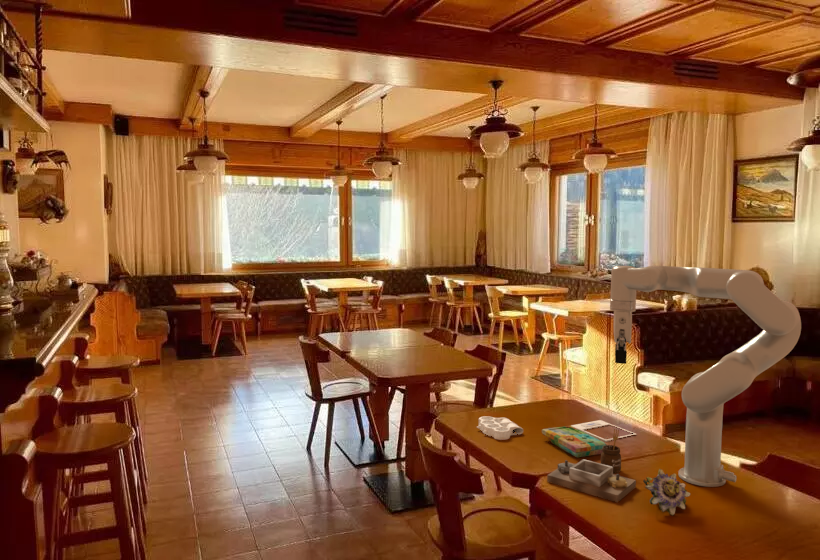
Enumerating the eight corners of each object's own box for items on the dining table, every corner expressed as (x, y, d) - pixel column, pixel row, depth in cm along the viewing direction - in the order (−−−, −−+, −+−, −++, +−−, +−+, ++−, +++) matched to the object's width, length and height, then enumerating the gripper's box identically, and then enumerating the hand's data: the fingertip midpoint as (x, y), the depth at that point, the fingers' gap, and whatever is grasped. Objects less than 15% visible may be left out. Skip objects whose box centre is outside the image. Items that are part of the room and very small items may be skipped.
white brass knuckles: (527, 438, 217) (489, 442, 213) (505, 422, 235) (469, 426, 230) (527, 428, 217) (489, 433, 213) (505, 414, 234) (469, 417, 230)
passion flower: (670, 534, 159) (655, 505, 155) (642, 508, 169) (627, 480, 164) (703, 507, 161) (689, 477, 156) (673, 483, 170) (659, 455, 166)
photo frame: (600, 419, 235) (636, 433, 219) (600, 422, 235) (636, 436, 219) (570, 425, 228) (605, 439, 212) (570, 427, 228) (605, 442, 212)
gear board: (635, 487, 175) (636, 470, 175) (617, 502, 165) (617, 484, 165) (567, 468, 189) (568, 452, 189) (547, 481, 179) (547, 464, 179)
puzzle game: (575, 445, 196) (541, 426, 215) (575, 460, 196) (541, 440, 215) (606, 441, 200) (570, 423, 219) (606, 455, 200) (570, 436, 219)
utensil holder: (596, 470, 188) (597, 431, 187) (606, 464, 192) (607, 427, 191) (615, 475, 183) (615, 436, 182) (624, 469, 188) (625, 431, 187)
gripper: (636, 310, 181) (634, 367, 183) (634, 302, 197) (632, 355, 199) (609, 308, 183) (607, 364, 185) (610, 301, 200) (608, 353, 201)
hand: (620, 359), depth 192 cm, fingers open, 9 cm apart
